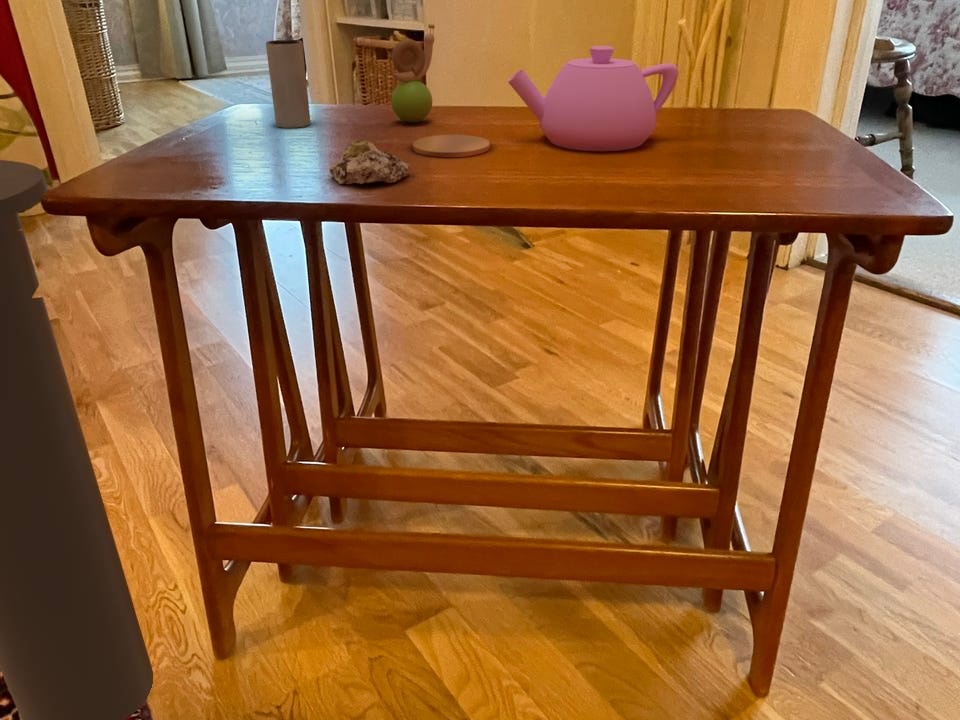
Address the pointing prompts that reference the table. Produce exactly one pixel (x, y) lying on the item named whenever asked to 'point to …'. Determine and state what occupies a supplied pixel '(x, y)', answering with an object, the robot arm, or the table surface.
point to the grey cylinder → (288, 83)
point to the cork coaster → (451, 146)
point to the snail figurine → (412, 79)
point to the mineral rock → (368, 165)
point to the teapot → (598, 102)
